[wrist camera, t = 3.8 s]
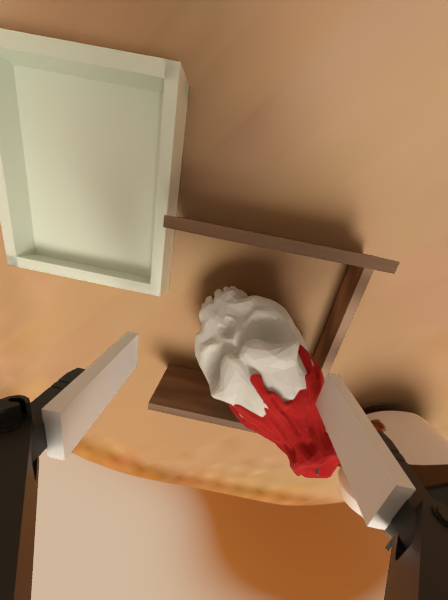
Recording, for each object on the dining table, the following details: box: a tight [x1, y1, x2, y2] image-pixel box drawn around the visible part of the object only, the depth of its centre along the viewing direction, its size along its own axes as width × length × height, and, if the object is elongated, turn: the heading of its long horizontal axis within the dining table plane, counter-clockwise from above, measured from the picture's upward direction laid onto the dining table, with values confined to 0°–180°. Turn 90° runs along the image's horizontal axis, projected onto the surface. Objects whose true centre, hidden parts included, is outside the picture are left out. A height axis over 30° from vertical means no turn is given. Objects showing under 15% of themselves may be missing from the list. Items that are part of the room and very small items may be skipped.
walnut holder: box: [148, 215, 400, 433], centre depth 20 cm, size 18×17×6 cm
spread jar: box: [338, 406, 448, 539], centre depth 21 cm, size 12×11×12 cm
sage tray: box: [0, 28, 189, 296], centre depth 18 cm, size 17×15×3 cm
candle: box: [195, 285, 340, 478], centre depth 18 cm, size 9×11×15 cm
